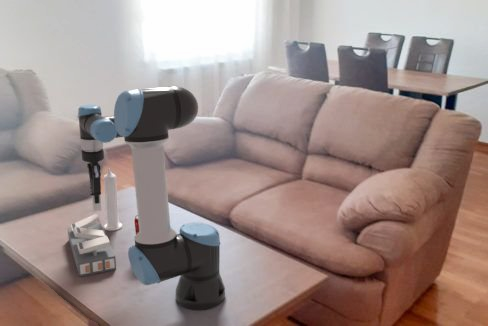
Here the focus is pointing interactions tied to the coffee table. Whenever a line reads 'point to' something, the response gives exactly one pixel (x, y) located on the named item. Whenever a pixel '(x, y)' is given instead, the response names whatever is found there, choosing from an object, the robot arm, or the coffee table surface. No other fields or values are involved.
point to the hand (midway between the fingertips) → (97, 210)
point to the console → (91, 255)
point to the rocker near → (93, 244)
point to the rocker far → (86, 222)
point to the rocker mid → (88, 233)
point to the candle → (111, 202)
